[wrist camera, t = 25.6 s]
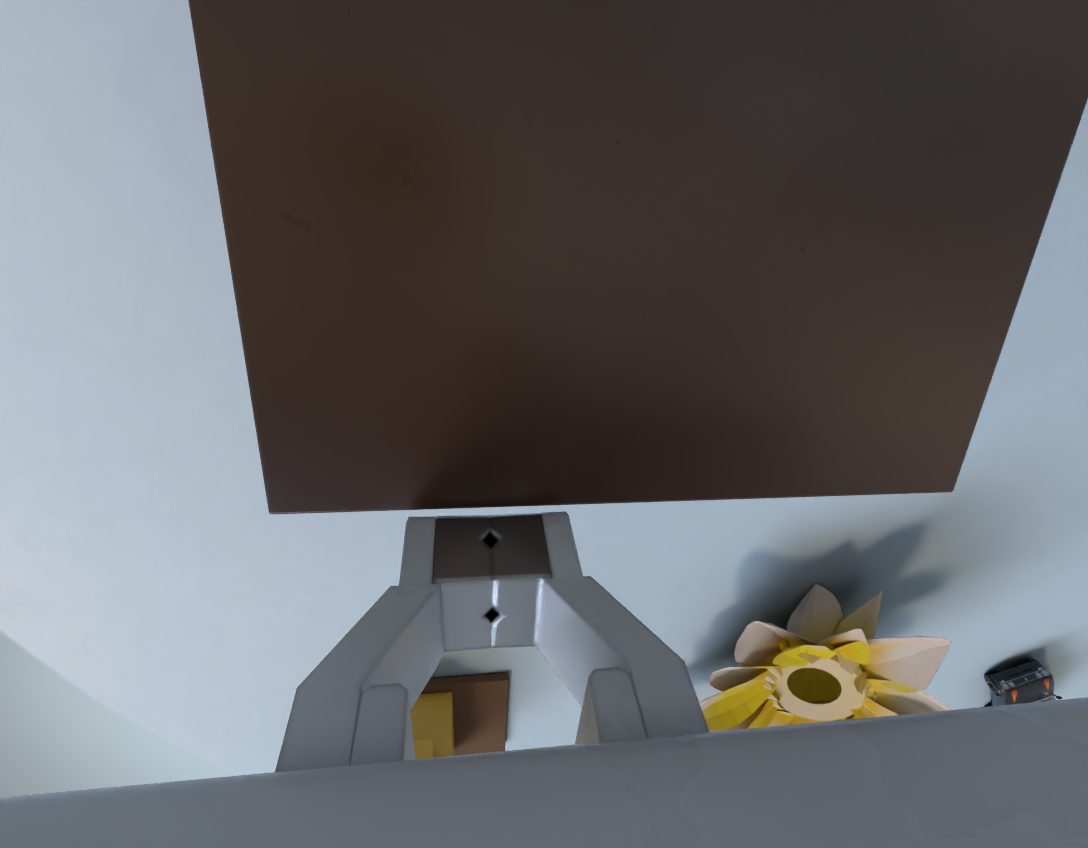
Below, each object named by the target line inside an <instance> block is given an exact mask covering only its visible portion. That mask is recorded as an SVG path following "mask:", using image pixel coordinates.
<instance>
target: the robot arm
mask: <svg viewBox="0 0 1088 848" xmlns="http://www.w3.org/2000/svg"><path fill="white" fill-rule="evenodd" d="M524 646H537V649H538V650H539V652H540V653H541V654H542V656H543V657H544V658H545V660H546V661H547V662H548V664H549V665H550V666H551V668H552V669H553V670H554V671H555V673H556V674H557V675H558V677H559V678H560V679H561V681H562V682H563V683H564V685H565V686H566V687H567V689H568V690H569V691H570V693H571V694H572V695H573V697H574V698H575V699H576V701H577V702H578V703H579V705H580V706H581V707H582V711H581V716H580V722H579V727H578V732H577V737H576V742H575V745H567V746H556V747H546V748H535V749H524V750H513V751H502V752H491V753H480V754H470V755H459V756H448V757H437V758H426V759H416V757H415V748H414V739H413V730H412V721H411V712H410V710H411V709H412V707H413V705H414V704H415V702H416V701H417V699H418V697H419V696H420V694H421V692H422V691H423V689H424V688H425V686H426V684H427V683H428V681H429V680H430V678H431V676H432V675H433V673H434V671H435V670H436V668H437V667H438V665H439V663H440V662H441V660H442V658H443V657H444V655H445V653H444V652H451V651H462V650H472V649H483V648H498V647H524ZM0 848H1088V698H1077V699H1067V700H1056V701H1045V702H1034V703H1023V704H1013V705H1002V706H991V707H980V708H969V709H958V710H947V711H936V712H925V713H915V714H904V715H893V716H882V717H871V718H860V719H849V720H838V721H827V722H817V723H806V724H795V725H784V726H773V727H762V728H751V729H740V730H729V731H719V732H709V729H708V726H707V723H706V720H705V718H704V715H703V712H702V709H701V707H700V704H699V701H698V698H697V696H696V693H695V690H694V687H693V684H692V682H691V679H690V676H689V673H688V671H687V668H686V665H685V662H684V660H682V659H681V658H680V657H679V656H678V655H677V654H676V653H675V652H674V651H672V650H671V649H670V648H669V647H668V646H667V645H666V644H665V643H664V642H663V641H661V640H660V639H659V638H658V637H657V636H656V635H655V634H654V633H653V632H652V631H650V630H649V629H648V628H647V627H646V626H645V625H644V624H643V623H642V622H641V621H639V620H638V619H637V618H636V617H635V616H634V615H633V614H632V613H631V612H629V611H628V610H627V609H626V608H625V607H624V606H623V605H622V604H621V603H620V602H618V601H617V600H616V599H615V598H614V597H613V596H612V595H611V594H610V593H609V592H607V591H606V590H605V589H604V588H603V587H602V586H601V585H600V584H599V583H598V582H596V581H595V580H594V579H593V578H592V577H591V576H583V575H582V571H581V566H580V562H579V558H578V553H577V549H576V545H575V541H574V536H573V532H572V528H571V523H570V519H569V515H568V514H567V513H566V512H548V513H540V514H539V513H531V514H507V515H486V516H436V517H408V520H407V522H406V529H405V538H404V547H403V555H402V564H401V573H400V582H399V586H390V587H389V589H388V590H387V591H386V592H385V593H384V594H383V595H382V596H381V597H380V598H379V599H378V601H377V602H376V603H375V604H374V605H373V606H372V607H371V608H370V609H369V610H368V611H367V612H366V614H365V615H364V616H363V617H362V618H361V619H360V620H359V621H358V622H357V623H356V624H355V626H354V627H353V628H352V629H351V630H350V631H349V632H348V633H347V634H346V635H345V636H344V637H343V639H342V640H341V641H340V642H339V643H338V644H337V645H336V646H335V647H334V648H333V649H332V651H331V652H330V653H329V654H328V655H327V656H326V657H325V658H324V659H323V660H322V661H321V662H320V664H319V665H318V666H317V667H316V668H315V669H314V670H313V671H312V672H311V673H310V674H309V675H308V677H307V678H306V679H305V680H304V681H303V682H302V683H301V684H300V685H299V686H298V687H297V690H296V694H295V698H294V701H293V705H292V709H291V713H290V717H289V721H288V724H287V728H286V732H285V736H284V740H283V744H282V747H281V751H280V755H279V759H278V763H277V767H276V771H275V772H274V773H263V774H252V775H241V776H230V777H219V778H209V779H197V780H187V781H176V782H165V783H154V784H143V785H132V786H121V787H111V788H99V789H89V790H77V791H67V792H56V793H46V794H34V795H23V796H12V797H1V798H0Z"/></svg>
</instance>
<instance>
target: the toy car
mask: <svg viewBox="0 0 1088 848" xmlns="http://www.w3.org/2000/svg"><path fill="white" fill-rule="evenodd" d="M984 678H985V681H986V682H987V684H988V686H989V687H990V688H991V690H992V706H1002V705H1013V704H1023V703H1034V702H1045V701H1056V699H1055V697H1054V696H1056V695H1054V680H1053V676H1052V674H1051V673H1049V672H1048V671H1047V670H1046V669H1045V668H1044V667H1043V666H1042V665H1041V664H1040V663H1039V662H1038V661H1037V660H1036V659H1030V660H1027V661H1026V662H1025V663H1024V664H1021V665H1018V666H1015V667H1012V668H1010V669H1007V670H1004V671H1001V672H998V673H996V674H993V673H990V674H987V675H985V676H984ZM1056 698H1057V699H1062V697H1061V696H1057V697H1056ZM987 707H991V705H990V706H987Z"/></svg>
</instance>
